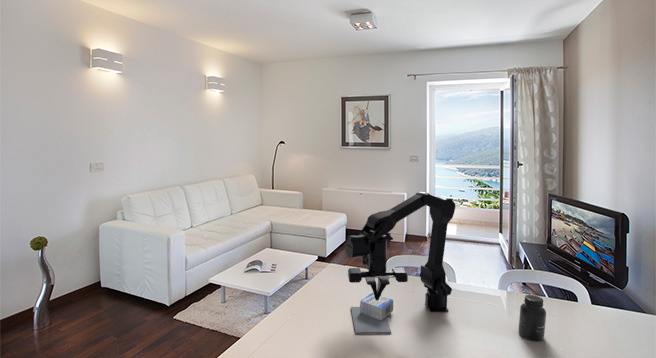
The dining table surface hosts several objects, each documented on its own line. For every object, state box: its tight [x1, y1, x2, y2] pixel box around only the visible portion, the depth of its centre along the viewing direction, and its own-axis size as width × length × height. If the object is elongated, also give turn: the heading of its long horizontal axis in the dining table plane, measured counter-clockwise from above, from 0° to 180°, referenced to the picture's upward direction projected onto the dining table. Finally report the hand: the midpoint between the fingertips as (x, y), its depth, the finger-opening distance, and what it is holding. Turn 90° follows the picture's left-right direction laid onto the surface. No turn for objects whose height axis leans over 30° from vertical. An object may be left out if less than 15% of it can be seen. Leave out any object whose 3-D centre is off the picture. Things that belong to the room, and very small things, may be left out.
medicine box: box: [359, 292, 394, 320], centre depth 118 cm, size 8×4×9 cm
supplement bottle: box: [518, 294, 547, 342], centre depth 105 cm, size 7×7×12 cm
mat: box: [350, 306, 392, 335], centre depth 114 cm, size 11×16×1 cm
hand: (376, 299), depth 113 cm, fingers closed
